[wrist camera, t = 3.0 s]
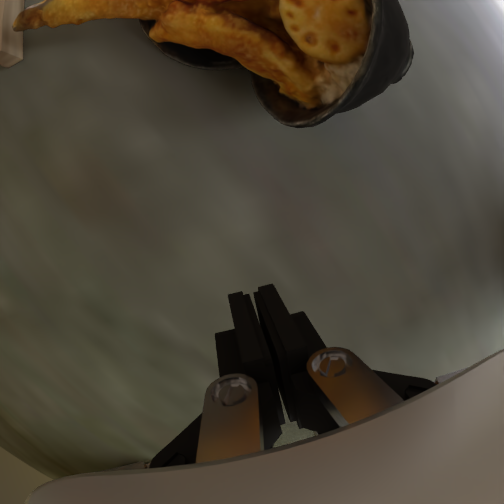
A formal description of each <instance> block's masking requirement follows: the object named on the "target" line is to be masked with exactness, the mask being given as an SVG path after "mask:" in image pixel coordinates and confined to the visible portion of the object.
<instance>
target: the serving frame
mask: <svg viewBox="0 0 504 504" xmlns="http://www.w3.org/2000/svg"><path fill="white" fill-rule="evenodd" d="M24 1H25V0H0V65H1V66H4V67H7V68H10V67H11V66H13V65H15V64H16V63H18V62H20V61H21V60H23V31H20V32H15V31H13V28H12V26H13V23H14V21H15V19H16V17H17V16H18V14H19V13H20V12H21V11H23V10H24Z"/></svg>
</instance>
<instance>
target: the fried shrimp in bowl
mask: <svg viewBox="0 0 504 504" xmlns="http://www.w3.org/2000/svg"><path fill="white" fill-rule="evenodd" d="M103 18H108V19H112V18H133V19H134V18H138V19H139V21H140V24H141V27H142V29H143V31H144V32H145V34H146V35H147V37H148V38H149V39H150V40H151V41H152V42H153V43H154V44H155V45H156V46H157V47H158V48H159V49H160V50H161V51H162V52H163V53H164V54H165V55H167V56H169V57H170V58H172V59H174V60H176V61H178V62H180V63H183V64H186V65H188V66H192V67H195V68H200V69H206V70H219V69H236V68H243V67H246V68H247V69H249V72H250V76H251V81H252V85H253V89H254V91H255V94H256V96H257V98H258V100H259V102H260V104H261V105H262V106H263V107H264V108H265V109H266V111H267V112H268V113H269V114H271V115H272V116H273V117H274V119H276V120H277V121H279V122H280V123H281V124H284V125H286V126H290V127H296V128H305V127H313V126H316V125H318V124H320V123H323V122H324V121H326V120H327V119H329V118H330V117H332V116H333V115H335V114H336V113H341V112H346V111H349V110H352V109H354V108H357V107H359V106H360V105H362V104H363V103H365V102H367V101H369V100H370V99H372V98H374V97H376V96H377V95H379V94H381V93H382V92H383V91H384V90H385V89H386V88H387V87H388V86H389V85H390V84H394V83H397V82H398V81H400V80H401V79H402V77H403V76H405V74H406V72H407V71H408V69H409V67H410V65H411V63H412V59H413V55H414V51H413V46H412V44H411V41H410V39H409V29H408V24H407V21H406V19H405V16H404V13H403V11H402V8H401V6H400V4H399V2H398V0H45V1H43V2H41V3H37V4H34V5H32V6H29V7H27V8H26V9H24V10H23V11H21V12H20V13H19V14H18V16H17V17H16V19H15V21H14V23H13V26H12V28H13V31H15V32H20V31H24V30H27V29H38V28H40V27H42V26H44V25H47V26H49V27H51V28H55V27H58V26H60V25H62V24H76V25H80V24H82V23H84V22H87V21H90V20H96V19H103Z"/></svg>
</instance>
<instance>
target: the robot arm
mask: <svg viewBox="0 0 504 504" xmlns="http://www.w3.org/2000/svg"><path fill="white" fill-rule="evenodd" d="M253 293H254V298H255V303H256V308H257V312H258V317H259V321H258V318H257V315H256V312H255V309H254V306H253V304H252V301H251V298H250V295H249V294H245V295H243V292H242V291H241V292H237V293H233V294H229V295H228V299H229V303H230V308H231V313H232V318H233V322H234V327H235V329H232V330H228V331H223V332H219V333H215V340H216V349H217V358H218V366H219V375H220V378H218V379H216V380H215V381H213V382H212V383H211V384H210V385H209V387H208V388H207V390H206V393H205V398H204V405H203V412H202V414H200V415H199V416H198V417H197V418H196V419H195V420H194V421H193V422H192V423H191V424H190V425H189V426H188V427H187V428H186V429H184V430H183V431H182V432H181V433H180V434H179V435H178V436H177V437H176V438H175V439H173V440H172V441H171V442H170V443H169V444H168V445H167V446H166V447H164V448H163V449H162V450H161V451H160V452H159V453H158V454H157V455H156V456H155V457H154V458H153V459H152V461H151V463H147V464H145V463H144V462H143V461H141V462H137V463H133V464H129V465H125V466H121V467H117V468H112V469H108V470H103V471H98V472H92V473H82V474H77V475H71V476H66V477H62V478H59V479H56V480H52V481H49V482H47V483H45V484H43V485H41V486H39V487H37V488H36V489H35V490H34V491H32V492H31V494H30V495H29V496H28V498H27V500H26V501H25V503H24V504H504V349H502V350H500V351H498V352H496V353H494V354H492V355H490V356H488V357H486V358H485V359H483V360H481V361H479V362H478V363H476V364H474V365H472V366H470V367H467V368H464V369H461V370H458V371H455V372H452V373H449V374H446V375H443V376H439V377H436V380H435V381H434V382H432V381H431V380H428V379H424V378H418V377H412V376H405V375H399V374H393V373H387V372H381V371H376V370H371V369H370V368H369V367H368V366H367V365H366V364H365V363H364V362H363V361H362V360H361V359H360V358H359V357H357V356H356V355H355V354H354V353H353V352H351V351H350V350H348V349H345V348H341V347H330V348H327V347H326V346H325V344H324V342H323V341H322V339H321V338H320V336H319V335H318V333H317V331H316V330H315V328H314V327H313V325H312V324H311V322H310V320H309V319H308V317H307V316H306V314H305V313H304V312H303V311H301V312H298V313H294V314H289V312H288V310H287V308H286V307H285V305H284V303H283V301H282V299H281V297H280V296H279V294H278V292H277V290H276V288H275V287H274V285H273V284H269V285H265V286H261V287H258V291H257V292H253ZM259 322H260V323H259ZM278 389H279V390H278ZM279 392H280V394H281V397H282V400H283V403H284V406H285V409H286V411H287V414H288V417H289V420H290V422H293V421H297V424H298V426H299V429H302V428H306V429H309V430H312V431H314V435H315V436H314V437H310V438H307V439H304V440H301V441H297V442H294V443H290V444H287V445H283V446H279V447H275V448H274V445H273V444H274V443H275V442H276V440H277V439H278V438H279V436H280V435H281V434H282V430H281V426H280V425H282V424H285V419H284V414H283V409H282V405H281V400H280V395H279Z"/></svg>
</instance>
